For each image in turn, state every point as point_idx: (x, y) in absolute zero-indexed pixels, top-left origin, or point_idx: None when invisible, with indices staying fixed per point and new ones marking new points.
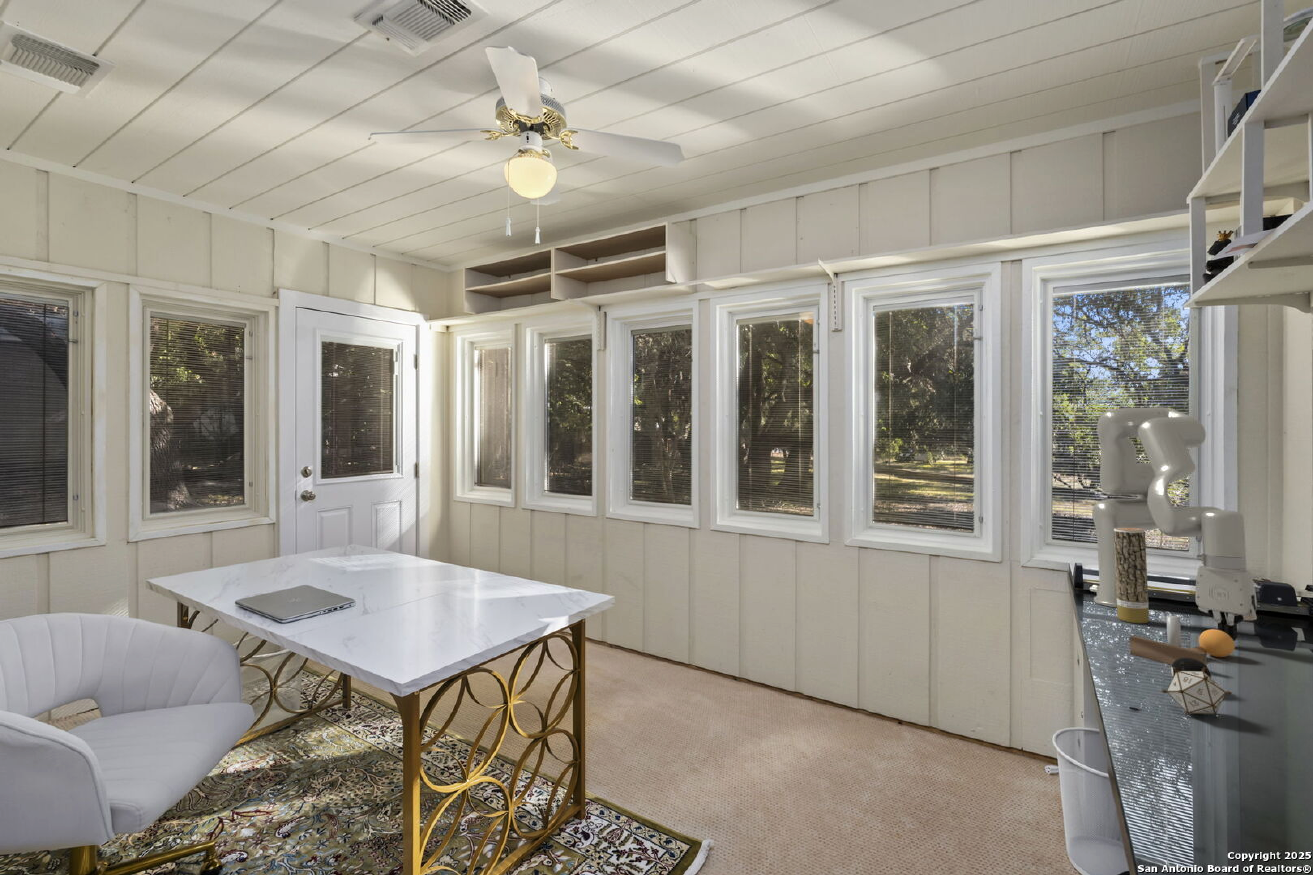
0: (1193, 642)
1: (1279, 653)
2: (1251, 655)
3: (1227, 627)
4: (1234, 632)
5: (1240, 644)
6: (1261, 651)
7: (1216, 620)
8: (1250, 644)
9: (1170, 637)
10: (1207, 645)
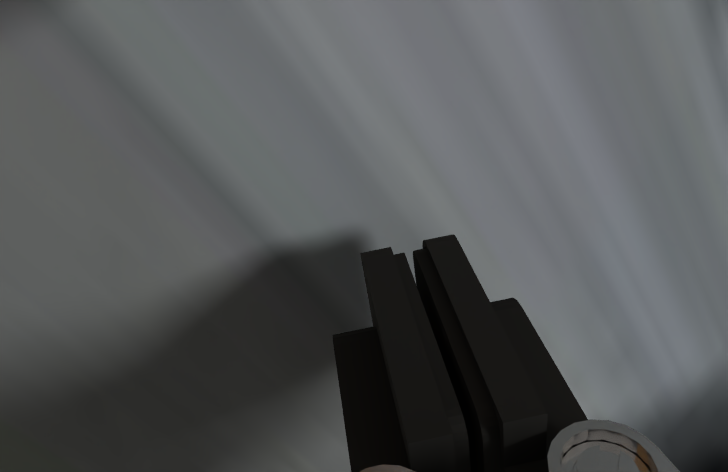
0: (672, 57)
1: (108, 463)
2: (70, 195)
3: (398, 404)
4: (345, 410)
5: None
6: (188, 392)
7: (627, 458)
8: None
9: None
10: None
